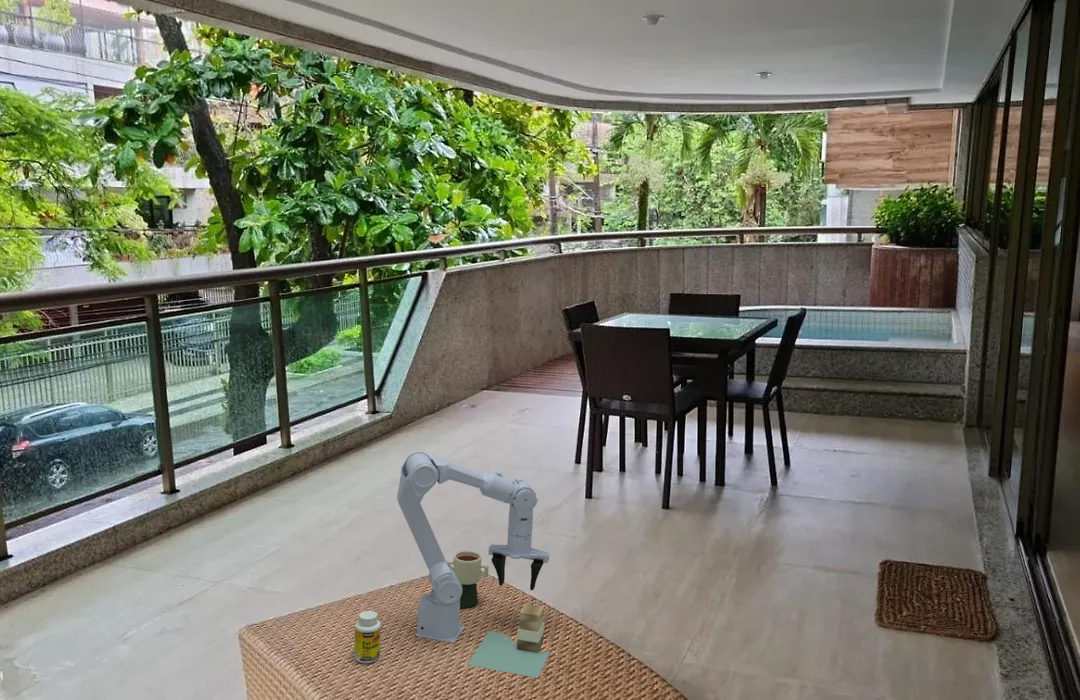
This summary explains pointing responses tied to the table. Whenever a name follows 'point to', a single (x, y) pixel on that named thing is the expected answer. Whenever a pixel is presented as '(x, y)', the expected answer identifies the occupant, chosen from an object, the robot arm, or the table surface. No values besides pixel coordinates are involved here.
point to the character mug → (468, 575)
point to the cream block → (530, 635)
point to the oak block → (531, 618)
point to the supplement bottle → (367, 637)
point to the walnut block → (529, 645)
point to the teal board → (507, 656)
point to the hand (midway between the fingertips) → (517, 586)
